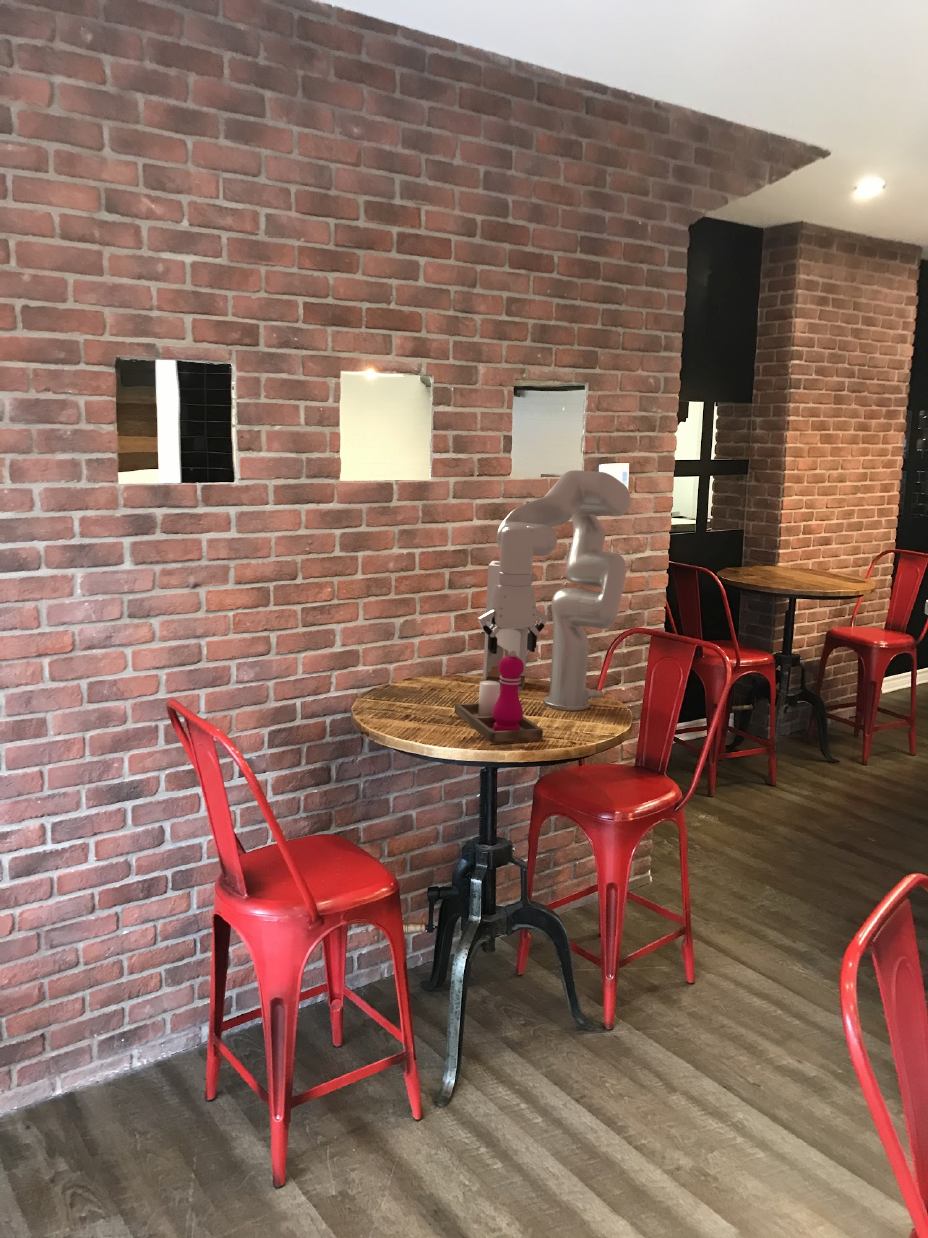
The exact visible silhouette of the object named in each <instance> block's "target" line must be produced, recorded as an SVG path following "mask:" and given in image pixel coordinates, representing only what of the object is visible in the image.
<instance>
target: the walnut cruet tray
mask: <svg viewBox="0 0 928 1238" xmlns="http://www.w3.org/2000/svg"><path fill="white" fill-rule="evenodd" d="M478 706H479V702H470V703H455V704H454V713H455V714H456V715H457V717H459V718H460V719H462V721H464V722H465V723H466V724H467V725H469V726H470V727H472V728H473V730H475V731H476V732H478V733H479V734H480V735H481V736H482V737H484V738H485V739H486V740H487V741H489V742H490V743H491V744H489V745H490V746H503V745H514V744H513V743H514V741H516V742H518V741H521V742H519V743H520V744H530V743H529V742H530V741H534V740H537V741H535V743H539V742H538V740H543V736H544V735H543V732H544V729H543V728H541V727H540V726H538V725H536V723H534V722H533V721H532V720H530V719H528V718H527V717H525V716H524V715H523V718H522V720H521V721H520V722H519V723H518V724H519V725H520V730H507V731H493V728H494V723H495V722H496V721H495V719H494V718H493V716H484V717H478ZM523 741H525V742H523ZM500 742H505V743H500ZM507 742H508V743H507ZM501 744H503V745H501Z"/></svg>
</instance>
